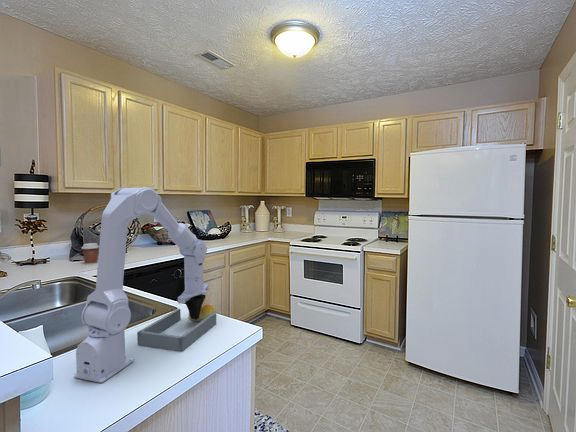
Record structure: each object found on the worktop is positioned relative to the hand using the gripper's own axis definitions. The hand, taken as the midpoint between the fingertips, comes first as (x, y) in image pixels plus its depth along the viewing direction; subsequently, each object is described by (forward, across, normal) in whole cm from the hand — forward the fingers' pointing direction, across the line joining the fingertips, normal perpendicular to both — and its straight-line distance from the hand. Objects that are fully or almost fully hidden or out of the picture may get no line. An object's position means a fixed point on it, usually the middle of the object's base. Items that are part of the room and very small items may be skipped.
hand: (194, 318), depth 97 cm
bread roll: (+2, +5, 0) cm, 5 cm away
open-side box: (+1, -8, 0) cm, 8 cm away
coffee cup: (+2, +61, +110) cm, 126 cm away
